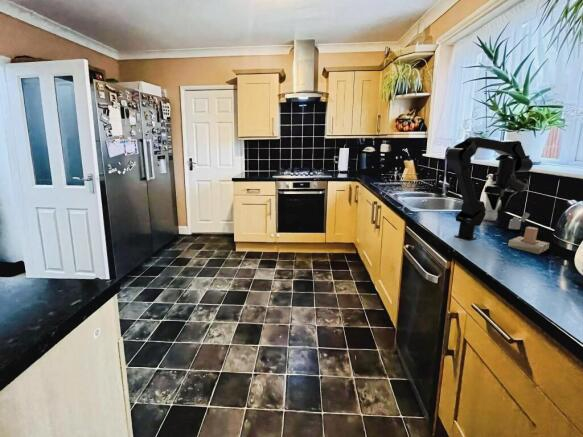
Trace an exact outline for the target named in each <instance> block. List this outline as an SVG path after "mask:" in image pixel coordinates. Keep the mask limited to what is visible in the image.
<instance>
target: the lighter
mask: <svg viewBox="0 0 583 437" xmlns="http://www.w3.org/2000/svg"><path fill="white" fill-rule="evenodd" d="M529 216H530V213H528V212H524V214H523V215H522V216H521V217H520V218H519V217H513V218H512V219H510V220H509V224H508V229H510V230H520V228H521V223H522V222H523V223H525V222H526V220H527V219H528V218H529Z"/></svg>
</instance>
